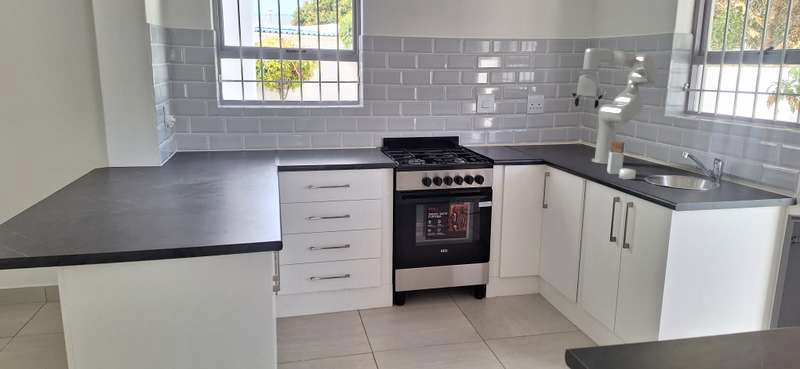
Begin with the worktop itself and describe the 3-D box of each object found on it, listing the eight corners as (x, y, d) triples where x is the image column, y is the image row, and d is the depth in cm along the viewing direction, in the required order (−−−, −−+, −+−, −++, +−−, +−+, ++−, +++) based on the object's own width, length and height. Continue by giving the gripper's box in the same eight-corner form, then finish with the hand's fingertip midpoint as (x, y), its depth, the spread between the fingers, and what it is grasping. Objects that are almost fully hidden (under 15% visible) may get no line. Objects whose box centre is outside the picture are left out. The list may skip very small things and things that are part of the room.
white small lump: (618, 176, 270) (619, 167, 269) (633, 177, 269) (634, 169, 268) (619, 179, 264) (620, 171, 263) (635, 180, 262) (636, 172, 261)
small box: (621, 175, 274) (624, 153, 271) (609, 174, 275) (612, 152, 272) (618, 172, 281) (621, 151, 279) (606, 171, 282) (609, 150, 280)
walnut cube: (612, 150, 279) (614, 141, 278) (623, 152, 276) (624, 142, 275) (610, 152, 275) (611, 141, 274) (620, 153, 272) (622, 143, 271)
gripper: (571, 72, 288) (567, 105, 292) (605, 74, 279) (601, 108, 282) (575, 72, 294) (571, 105, 298) (609, 74, 285) (605, 108, 289)
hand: (586, 107), depth 290 cm, fingers open, 9 cm apart
